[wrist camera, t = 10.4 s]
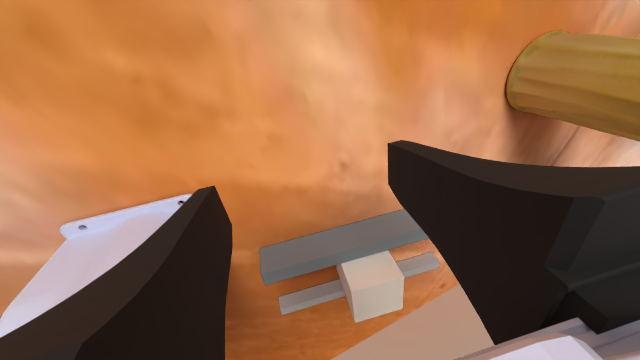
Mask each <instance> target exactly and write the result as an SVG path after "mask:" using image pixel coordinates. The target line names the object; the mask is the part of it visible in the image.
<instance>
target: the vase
mask: <svg viewBox="0 0 640 360" xmlns="http://www.w3.org/2000/svg"><path fill="white" fill-rule="evenodd" d="M506 93H507V99H508V101H509V103H510V104H511V106H512V107H513V108H515V109H517V110H519V111H522V112H529V113H534V114H538V115H542V116H546V117H550V118H554V119H558V120H562V121H565V122H569V123H572V124H576V125H580V126H583V127H587V128H590V129H594V130H598V131H601V132H605V133H609V134H612V135H616V136H620V137H624V138H628V139H632V140H636V141H639V142H640V38H638V37H620V36H609V35H598V34H571V33H568V32H565V31H552V32H549V33H546V34H544V35H542V36H540V37H538V38H537V39H535V40H534V41H533V42H531V43H530V44H529V45H528V46H527V47H526V48H525V49H524V50H523V51H522V53H521V54H520V55H519V57H518V58H517V59H516V61H515V63H514V64H513V66H512V68H511V71H510V73H509V76H508V80H507V86H506Z"/></svg>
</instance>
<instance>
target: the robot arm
mask: <svg viewBox="0 0 640 360" xmlns="http://www.w3.org/2000/svg"><path fill="white" fill-rule="evenodd" d="M388 184H389V186H390V188H391V190H392V191H393V193H394V195H395V196H396V198H397V199H398V201H399V202H400V204H401V205H402V206H403V207H404V209H405V210H406V211H407V212H408V213H409V215H410V216H411V217H412V218H413V219H414V221H415V222H416V223H417V224H418V225H419V227H420V228H421V229H422V230H423V231H424V233H425V234H426V235H427V236H428V237H429V239H430V240H431V241H432V242H433V244H434V245H435V246H436V248H437V249H438V251H439V252H440V254H441V255H442V257H443V258H444V260H445V261H446V263H447V264H448V266H449V267H450V269H451V270H452V272H453V274H454V275H455V277H456V278H457V280H458V282H459V283H460V285H461V286H462V288H463V290H464V291H465V293H466V295H467V296H468V298H469V300H470V302H471V303H472V305H473V307H474V308H475V310H476V312H477V314H478V315H479V317H480V319H481V321H482V323H483V324H484V326H485V328H486V330H487V332H488V334H489V335H490V337H491V339H492V341H493V343H494V345H495V346H492V347H490V348H486V349H483V350H481V351H478V352H475V353H472V354H469V355H466V356H463V357H460V358H457V359H454V360H640V166H632V167H555V166H538V165H526V164H516V163H507V162H500V161H493V160H486V159H481V158H475V157H471V156H466V155H461V154H457V153H453V152H449V151H445V150H441V149H437V148H433V147H430V146H426V145H422V144H418V143H414V142H410V141H404V140H400V141H396V142H392V143H388ZM179 201H184V202H185V203H180V202H179ZM82 225H85V226H86V227H84V226H82ZM60 232H61V233H62V234H63V235H64V237H65V238H66V240H65V242H64V243H63V244H62V245H61V246H60V247H59V248H58V250H57V251H56V252H55V253H54V254H53V255H52V257H51V258H50V259H49V260H48V261H47V262H46V263H45V265H44V266H43V267H42V268H41V269H40V270H39V271H38V273H37V274H36V275H35V276H34V277H33V278H32V280H31V281H30V282H29V283H28V284H27V285H26V286H25V288H24V289H23V290H22V291H21V292H20V293H19V294H18V296H17V297H16V298H15V299H14V300H13V301H12V302H11V304H10V305H9V306H8V308H7V309H6V311H5V312H4V314H3V315H2V317H1V319H0V360H225V305H226V295H227V287H228V279H229V271H230V263H231V255H232V224H231V222H230V219H229V217H228V215H227V213H226V210H225V208H224V206H223V204H222V201H221V199H220V197H219V195H218V192H217V190H216V188H215V186H210V187H206V188H202V189H198V190H197V191H196V192H195V193H194V194H193V195H192V194H184V195H180V196H176V197H172V198H168V199H164V200H160V201H156V202H152V203H148V204H143V205H139V206H135V207H131V208H127V209H123V210H119V211H115V212H111V213H106V214H102V215H98V216H94V217H90V218H86V219H82V220H78V221H74V222H69V223H66V224H64V225H63V226H62V227H61V228H60Z"/></svg>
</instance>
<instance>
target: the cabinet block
mask: <svg viewBox="0 0 640 360" xmlns="http://www.w3.org/2000/svg"><path fill="white" fill-rule="evenodd" d="M336 267H337V272H338V275H339V278H340V280H341V283H342V286H343V289H344V292H345V295H346V298H347V301H348V304H349V307H350V310H351V312H352V315H353V318H354V321H355V323H357V322H360V321H364V320H367V319H370V318H374V317H377V316H380V315H383V314H387V313H390V312H393V311H396V310H400V309H402V308H403V288H404V276H403V274H402V272H401V271H400V269H399V267H398V266H397V264H396V262H395V261H394V259H393V257H392V256H391V254H390V252H389V251H388V250H387V251H383V252H380V253H376V254H373V255H369V256H366V257H362V258H359V259H355V260H352V261H348V262H345V263H341V264H338V265H336Z"/></svg>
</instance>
